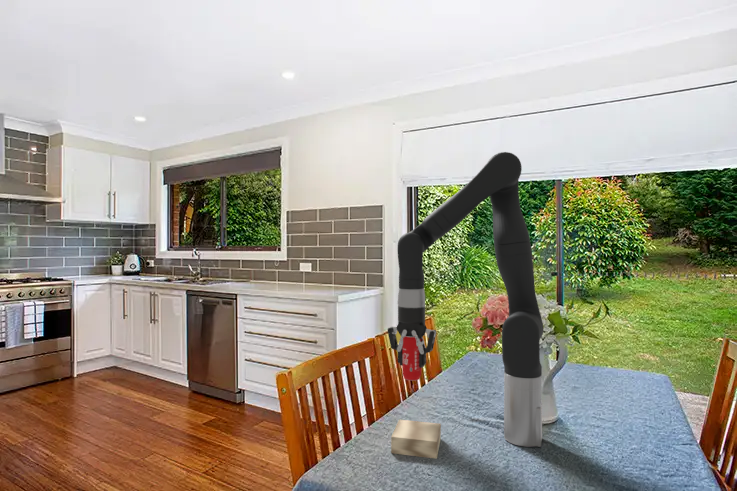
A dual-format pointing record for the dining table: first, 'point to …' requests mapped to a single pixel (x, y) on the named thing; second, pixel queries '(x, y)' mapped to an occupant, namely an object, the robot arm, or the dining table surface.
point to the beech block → (416, 438)
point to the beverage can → (410, 358)
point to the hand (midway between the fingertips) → (411, 365)
